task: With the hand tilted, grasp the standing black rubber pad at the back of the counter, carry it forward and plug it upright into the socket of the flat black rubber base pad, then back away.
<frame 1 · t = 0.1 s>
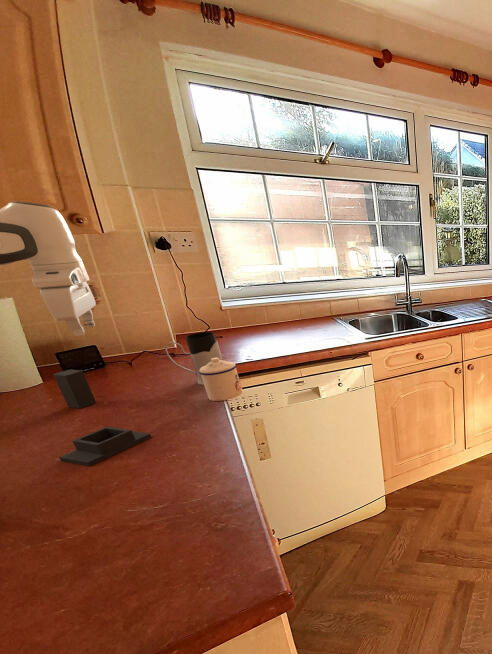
hand: (85, 331, 107), 23 cm above the counter, tool pointing down, fingers open, 8 cm apart
upright pad: (82, 404, 121), on the counter
teacup with lid: (225, 394, 126), on the counter
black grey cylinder: (204, 381, 137), on the counter
base pad: (108, 448, 98), on the counter
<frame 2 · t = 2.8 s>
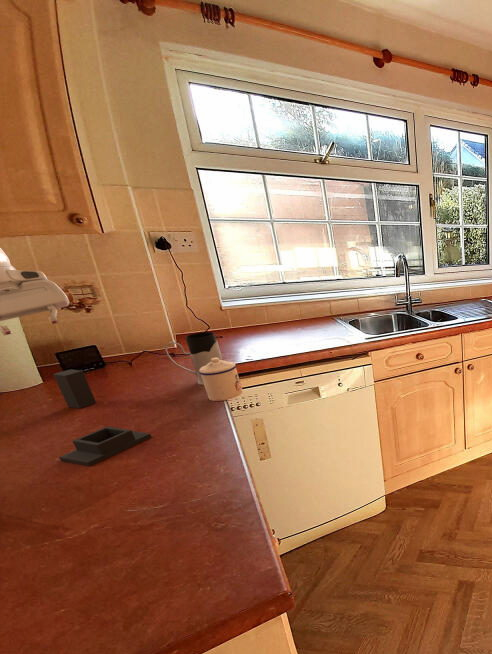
hand: (32, 327, 114), 22 cm above the counter, tool tilted 40°, fingers open, 8 cm apart
nothing on the counter moved.
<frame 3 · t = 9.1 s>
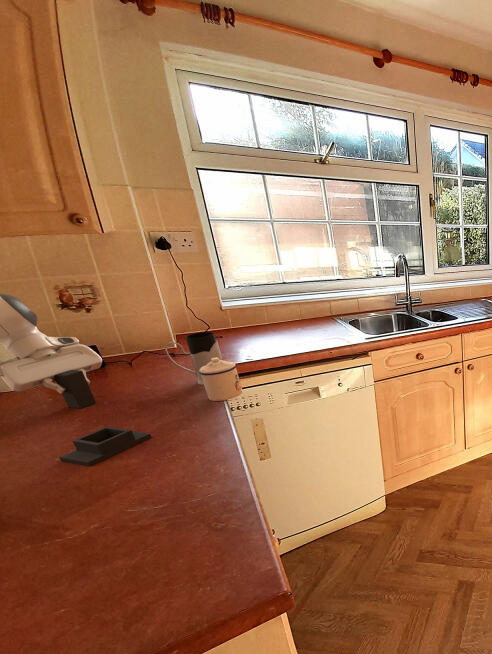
hand: (76, 387, 119), 5 cm above the counter, tool tilted 45°, fingers closed on upright pad, 4 cm apart
upright pad: (82, 404, 121), on the counter, touching gripper
everything else where it was.
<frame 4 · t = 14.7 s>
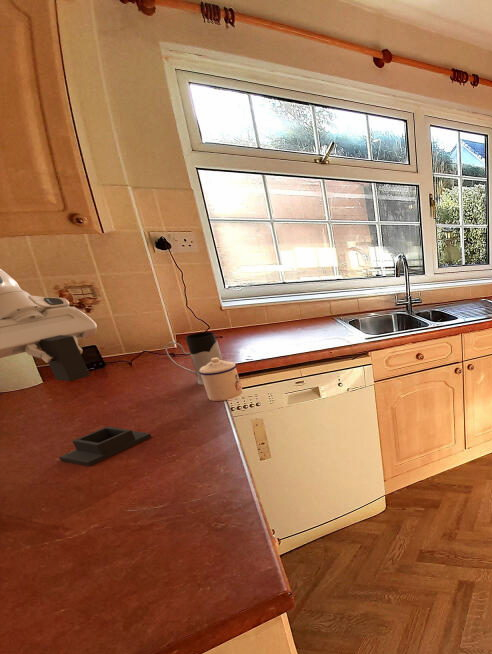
hand: (65, 356, 100), 19 cm above the counter, tool tilted 45°, fingers closed on upright pad, 4 cm apart
upright pad: (73, 377, 102), point 14 cm above the counter, touching gripper
everything else where it was.
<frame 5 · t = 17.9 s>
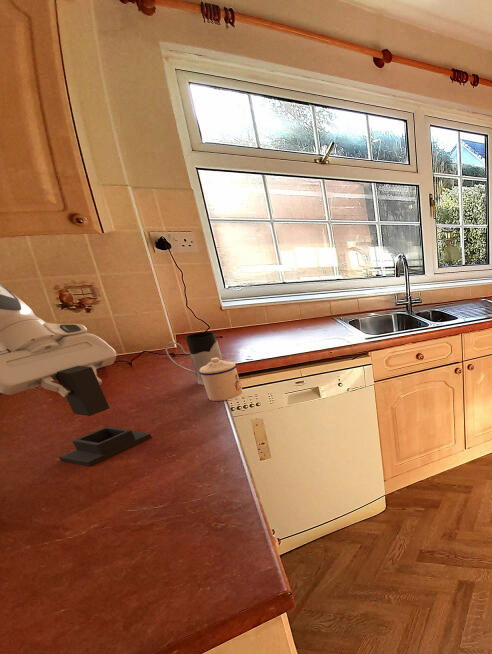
hand: (84, 389, 92), 15 cm above the counter, tool tilted 45°, fingers closed on upright pad, 4 cm apart
upright pad: (92, 411, 94), point 10 cm above the counter, touching gripper
everything else where it was.
when the fingers open (6 cm above the counter, at t = 20.5 s): upright pad stays where it is, resting on base pad.
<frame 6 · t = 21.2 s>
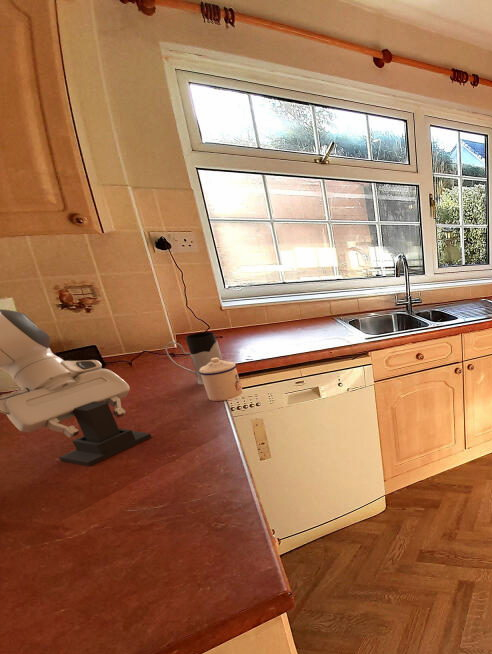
hand: (99, 424, 95), 6 cm above the counter, tool tilted 45°, fingers open, 8 cm apart
upright pad: (107, 444, 97), point 1 cm above the counter, touching base pad
everything else where it was.
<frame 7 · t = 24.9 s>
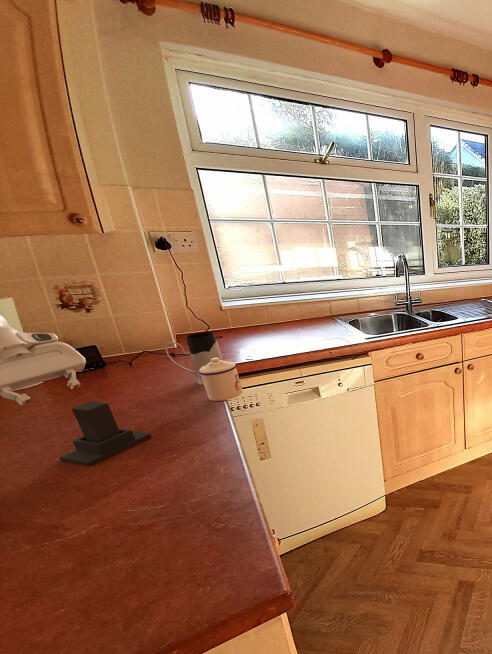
hand: (52, 394, 98), 12 cm above the counter, tool tilted 45°, fingers open, 8 cm apart
nothing on the counter moved.
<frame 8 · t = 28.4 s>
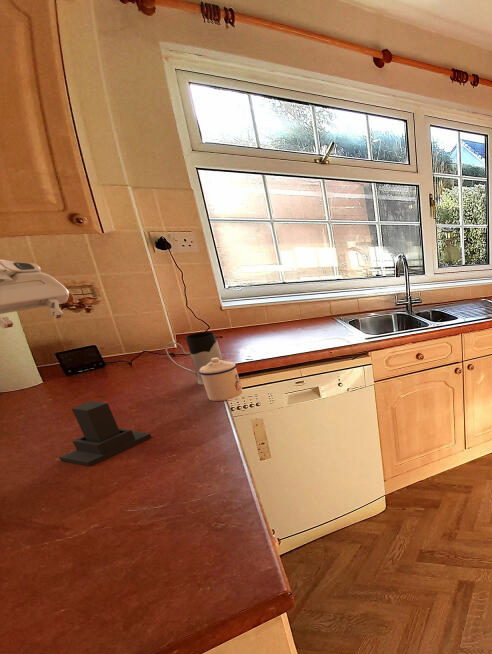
hand: (35, 320, 99), 27 cm above the counter, tool tilted 45°, fingers open, 8 cm apart
nothing on the counter moved.
at the end: upright pad 0.1 cm off-centre on the base pad, point 1.0 cm above the base pad's base; upright pad tilted 0°; the gripper is holding nothing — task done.
